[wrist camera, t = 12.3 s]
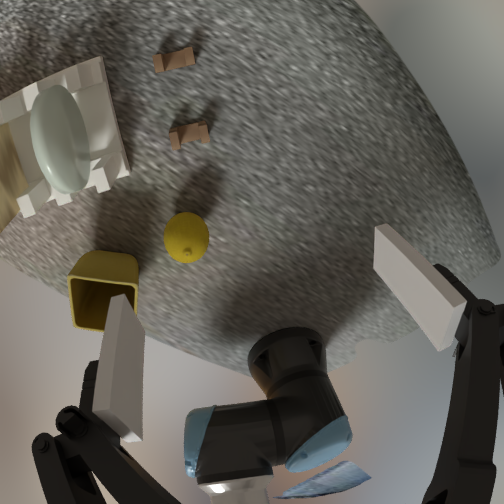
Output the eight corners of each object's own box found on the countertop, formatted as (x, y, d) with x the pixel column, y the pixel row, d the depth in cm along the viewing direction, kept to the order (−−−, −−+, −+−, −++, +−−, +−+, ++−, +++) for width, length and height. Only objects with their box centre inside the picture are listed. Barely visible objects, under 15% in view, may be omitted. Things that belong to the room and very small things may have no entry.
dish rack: (131, 171, 37) (121, 193, 31) (17, 210, 35) (-6, 236, 29) (102, 56, 28) (84, 53, 22) (-17, 111, 27) (-47, 123, 21)
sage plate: (97, 169, 33) (69, 209, 24) (87, 173, 33) (56, 213, 24) (74, 81, 27) (32, 89, 18) (63, 86, 27) (18, 96, 18)
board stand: (208, 136, 36) (210, 141, 34) (173, 144, 36) (172, 150, 33) (191, 48, 30) (192, 46, 28) (154, 56, 30) (152, 55, 27)
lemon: (160, 207, 40) (156, 238, 33) (202, 198, 40) (206, 227, 34) (170, 244, 43) (169, 279, 36) (210, 235, 43) (216, 269, 37)
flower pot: (85, 286, 44) (72, 328, 36) (83, 236, 40) (66, 275, 32) (140, 293, 46) (136, 336, 39) (144, 243, 42) (138, 284, 35)
